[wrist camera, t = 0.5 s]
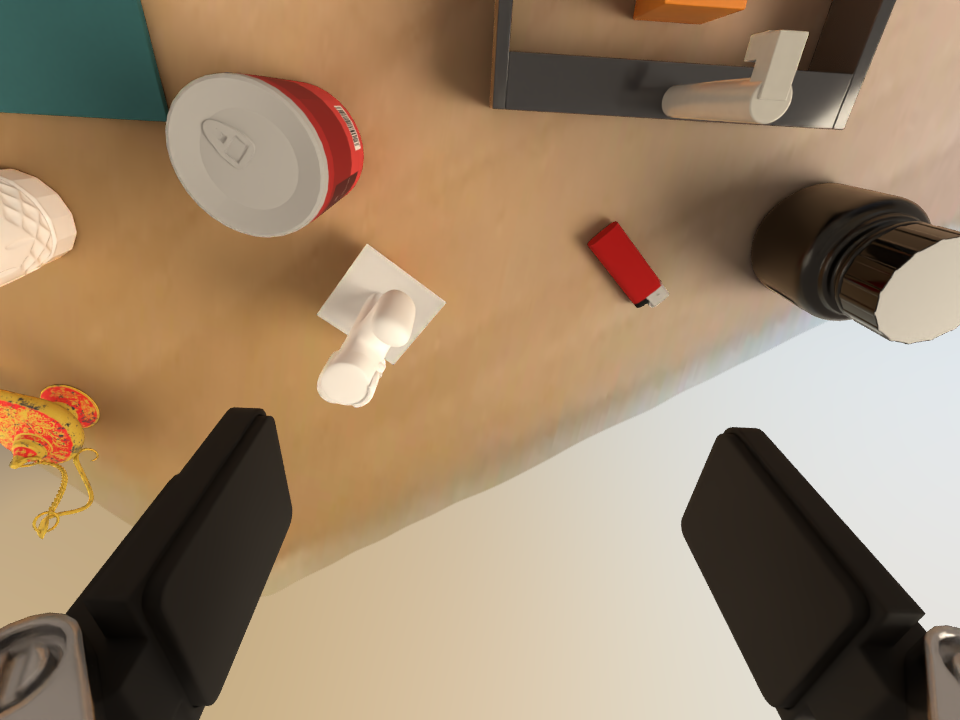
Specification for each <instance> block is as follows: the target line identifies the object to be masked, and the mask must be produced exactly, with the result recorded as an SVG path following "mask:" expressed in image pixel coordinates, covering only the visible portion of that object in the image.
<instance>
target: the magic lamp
mask: <svg viewBox="0 0 960 720" xmlns="http://www.w3.org/2000/svg"><path fill="white" fill-rule="evenodd" d="M99 415H100V413H99V409H98V407H97V405H96V403H95V402H94V401H93V400H92V399H91V398H90V397H89V396H88V395H87V394H85V393H84V392H82V391H80V390H78V389H76V388H73V387H70V386H66V385H51V386H49V387H47V388H45V389H44V390H43V391H42V392H41V395H40V398H36V397H32V396H27V395H23V394H18V393H14V392H10V391H6V390H2V389H0V443H1V444H2V445H3V446H4V447H6V448H7V449H9V450H10V451H12V453H13V459H12V461H11V462H10V464H9V466H10V467H11V468H13V469H17V468H18V467H28V466H32V465H36V464H43V465H45V464H47V465H51V466H54V467H57V469H58V468H59V469H58V470H61V471H60V472H62V473H61V474H63V475H61V476H63V477H62V479H63V480H61V482H62V483H61V487H60V490H58V493H59V494H57V495H56V497H57V498H55V499H54V502H52V507H49V511H46V512H43V513H41V514H39V515H38V516H37V517H36V518H35V519H34V521H33V528H34V530H35V531H37V533H38V536H39V537H40V538H41V539H43V537H44V535H45V534H46V532H49V531H51V530H53V529H54V528H55V527H56V526H57V525H58V523H59V516H62V515H68V514H73V513H77V512H81V511H83V510H85V509H87V508H88V507H89V506H90V505H91V504H92V502H93V499H94V496H93V491H92V488H91V486H90V483H89V481H88V479H87V477H86V475H85V473H84V471H83V469H82V467H81V464H80V462H79V454H80V453H81V452H82V451H85V450H91V451H93V452H95V453H96V455H97V457H96V458H95V459H94V460H96V459H97V458H98V453H97V452H96V451H95V450H94V449H91V448H84V449H81V448H82V446H83V444H84V438H85V437H84V431H83V428H87V427H90V426H93V425H94V424H96V422H97V421H98V419H99ZM72 458H73V462H74V464H75V466H76V468H77V470H78V472H79V474H80V476H81V478H82V480H83V482H84V484H85V486H86V488H87V491H88V494H89V501H88V503H87V504H86V505H85V506H83V507H81V508H78V509H75V510H70V511H64V512H59V513H55V512H54V511H55V509H56V508H57V506H58V504H59V502H60V499H61V498H62V495H63V494H64V491H65V490H66V486H67V480H68V478H67V477H68V476H67V472H66V470H64V467H62V466H61V465H59V464H58V463H63V462H66V461H68V460H70V459H72ZM94 460H91V461H94ZM30 461H31V462H33V461H34V462H35V463H32V464H28V465H23V464H25V463H27V462H30ZM65 479H66V480H65ZM63 489H64V490H63ZM58 495H59V496H58ZM54 506H55V507H54ZM44 514H48V516H46V517H45V518H44V519H43V520H42V521H41V523H40V524H39V527H38V529H37V527H36V526H35V524H36V521H37V519H38V518H39V517H40V516H41V515H44ZM53 517H56V518H57V521H56V524H55V525H54V526H53V527H52V528H51V529H49V530H47V529H48V524H49V519H51V518H53Z"/></svg>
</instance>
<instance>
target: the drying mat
mask: <svg viewBox="0 0 960 720" xmlns="http://www.w3.org/2000/svg"><path fill="white" fill-rule="evenodd" d="M0 112H5V113H22V114H40V115H57V116H75V117H92V118H110V119H127V120H145V121H162V122H166V121H167V114H168V112H169V111H168V107H167V103H166V99H165V95H164V91H163V87H162V83H161V79H160V75H159V72H158V68H157V64H156V60H155V56H154V52H153V48H152V44H151V40H150V36H149V32H148V28H147V24H146V20H145V17H144V13H143V9H142V5H141V1H140V0H0Z"/></svg>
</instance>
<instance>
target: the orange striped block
mask: <svg viewBox="0 0 960 720" xmlns="http://www.w3.org/2000/svg"><path fill="white" fill-rule="evenodd" d="M746 3H747V0H636V4H635V10H634V15H633V19H634V20H647V21H661V22H675V23H689V24H703V23H706V22H709V21H712V20H715V19H717V18H720V17H723V16H726V15H729V14H732V13H735V12H738V11H741V10H744V9H745V6H746Z"/></svg>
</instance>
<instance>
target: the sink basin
mask: <svg viewBox="0 0 960 720" xmlns="http://www.w3.org/2000/svg"><path fill="white" fill-rule="evenodd" d="M895 2H896V0H833V2H832V5H831V7H830V10H829V13H828V16H827V19H826V22H825V25H824V27H823V30H822V33H821V36H820V39H819V42H818V45H817V47H816V50H815V53H814V56H813V59H812V62H811V65H810V67H809V70H808V71H803V70H797V67H798V64H799V61H800V58H801V55H802V52H803V49H804V46H805V43H806V40H807V38H808V35H809V32H808V31H796V30H782V29H781V30H777V31H775V30H768V31H764V32H760V33H756V34H752V35H751V38H750V41H749V45H748V48H747V52H746V55H745V59H744V61H745V62H755V66H754V67H743V66H728V65H713V64H698V63H683V62H668V61H653V60H638V59H623V58H608V57H594V56H579V55H564V54H549V53H534V52H519V51H509V49H510V34H511V20H512V6H513V0H495V12H494V31H493V49H492V67H491V85H490V103H489V108H492V109H506V110H522V111H538V112H555V113H571V114H588V115H604V116H621V117H637V118H654V119H670V120H687V121H703V122H720V123H736V124H753V125H770V126H786V127H803V128H819V129H836V130H843V129H844V128H845V125H846V123H847V121H848V118H849V116H850V113H851V111H852V108H853V106H854V103H855V101H856V98H857V96H858V93H859V91H860V88H861V86H862V83H863V81H864V79H865V76H866V74H867V71H868V69H869V66H870V64H871V61H872V59H873V56H874V54H875V51H876V49H877V46H878V44H879V42H880V39H881V37H882V34H883V32H884V29H885V27H886V24H887V22H888V19H889V17H890V14H891V12H892V9H893V7H894V4H895Z"/></svg>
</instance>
